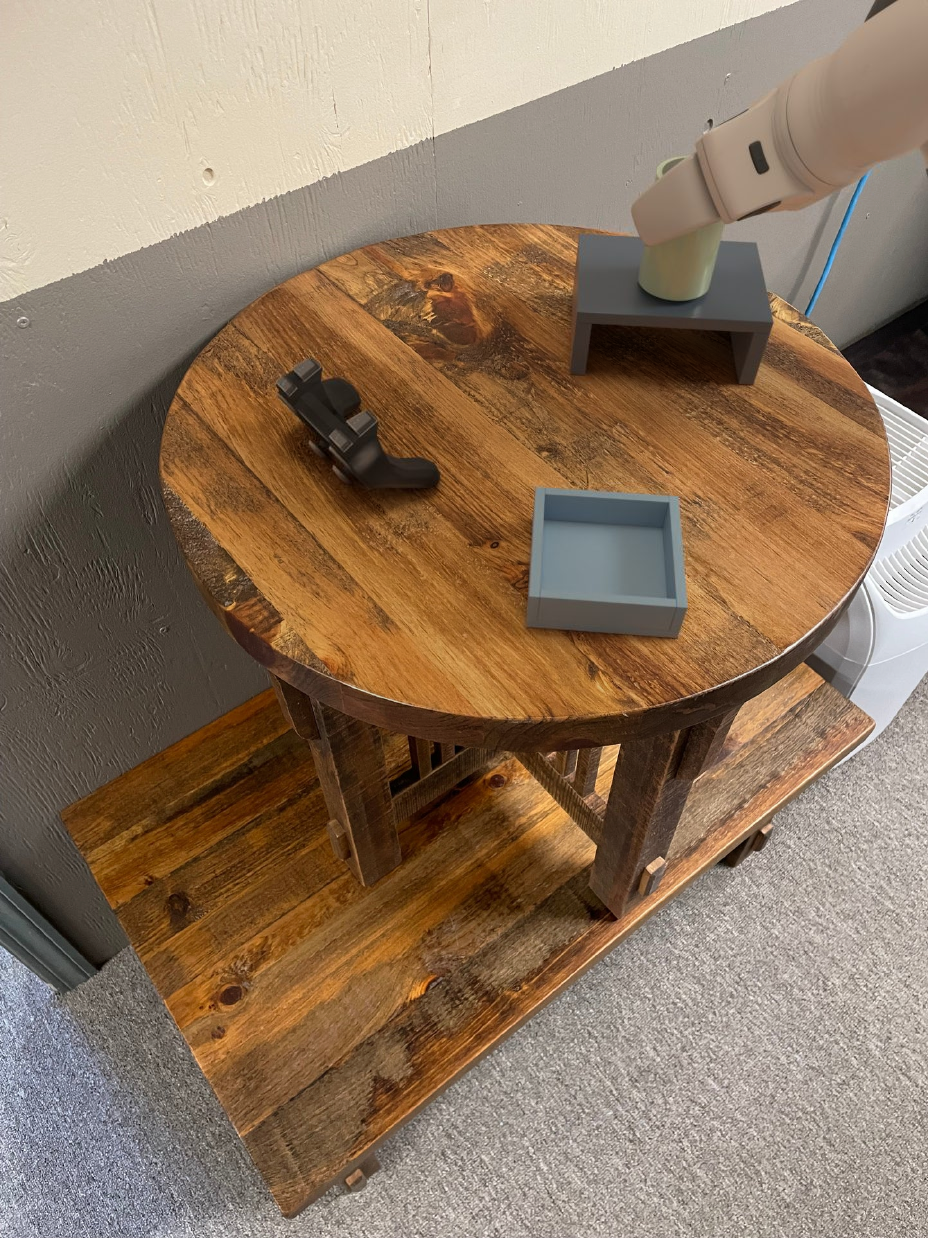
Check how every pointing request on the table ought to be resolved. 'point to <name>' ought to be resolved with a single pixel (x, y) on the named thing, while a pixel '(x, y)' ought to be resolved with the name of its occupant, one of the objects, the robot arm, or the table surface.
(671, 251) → the cup
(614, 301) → the shelf
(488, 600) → the table surface
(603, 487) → the table surface
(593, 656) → the table surface
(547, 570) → the open bin
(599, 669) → the table surface
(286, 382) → the game controller
